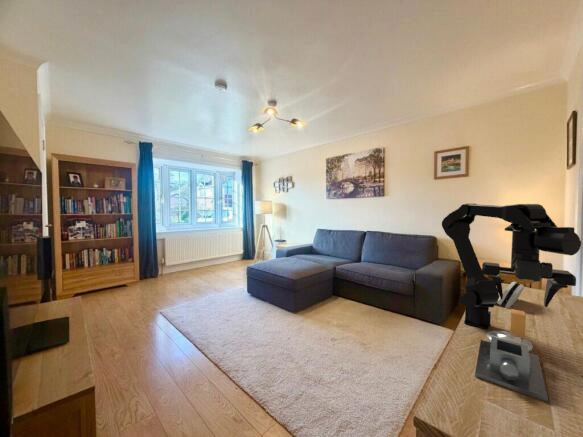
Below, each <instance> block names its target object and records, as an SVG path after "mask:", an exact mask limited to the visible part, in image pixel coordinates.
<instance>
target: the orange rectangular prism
mask: <svg viewBox="0 0 583 437" xmlns="http://www.w3.org/2000/svg"><path fill="white" fill-rule="evenodd" d="M509 322H510V324H509V326H510V327H509V332H511V333H514V334H516V335H518V336H520V337H522V338H524V339H526V312H525V311H523V310H519V309H518V310H517V309H513V308H511V309H510V320H509Z"/></svg>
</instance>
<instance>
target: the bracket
mask: <svg viewBox="0 0 583 437" xmlns="http://www.w3.org/2000/svg"><path fill="white" fill-rule="evenodd" d="M486 339H487V341H486V340H482V339H480V344H479V349H478V353H477V360H476V365H475V372H474V377H475V376H476V377H475V378H478V377H479V378H478V379H481V378H482V379H481V380H483V379H484V381H486V380H487V382H489V381H490V382H489V383H492V384H494V383H495V385H497V384H498V385H497V386H500V385H502V386H501V387H503V386H505V387H504V388H506V387H508V388H510V389H509V390H511V389H513V390H512V391H514V390H516V391H515V392H517V391H518V392H517V393H520V394H522V393H523V395H526V396H528V397H531V398H535V399H537V400H538V401H539V400H540V401H543V402H545V403H548V401H549V398H548V392H547V389H546V384H545V378H544V376H543V370H542V367H541V361H540V358H539V355H537V354H534V353H530V352H532V351H533V349H534V348H533V344H532V343H531V342H530V341H529V340H528V339H526V338H525V339H524V338H522V337H520V336H518V335H516V334H514V333H511V332H510V331H505V330H489V331H487V332H486ZM508 388H507V389H508Z"/></svg>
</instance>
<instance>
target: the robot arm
mask: <svg viewBox="0 0 583 437" xmlns="http://www.w3.org/2000/svg"><path fill="white" fill-rule="evenodd" d="M476 216H478V217H486V218H487V217H488V218H495V219H496V218H497V219H501V220H503V221H504V222H508V223H510V225H508V226H506V227H505V228H504V231H506V232H512V233H511V234H512V235H511V236H512V237H511V253H510V254H511V258H510V259H511V260H510V267H507V266H500V264H499V263H496V262H489V261H484V262H483V263H482V267H481V264H480V263H479V260H478V257H477V254H476V252H475V250H474V246H473V243H472V242H471V239H470V232H471V226H470V225H471V224H472V223H474V221H475V218H476ZM441 228H442V229H443V231H444V233H445V234H446V236H448V237H449V238H450V239H451V240H452V241H453V244H454V247H455V249H456V252H457V255H458V257H459V260H460V263H461V265H462V268H463V272H464V274H465V276H466V283H465V286H464V288H465V292H466V293H464V294H462V296H460V297H459V302H460V305H462V306H465V309H464V310H465V312H464V314H465V315H464V321H463V323H464V324H466V325H469V326H472V327H477V328H482V329H485V330H489V327H490V326H491V321H492V320H491V315H492V312H491V311H490V309H489V308H495V305H496V304H497V303H496V302H497V301H498V299H499V297H500V298H501V299H503V293H504V291H503V285H502V284H503V283H502V277H501V274H506V275H514V276H515V278H517V279H518V280H522V281H523V280H527V281H529V280H530V281H534V282H541V280H542V279H545V280H546V279H547V280H546V285H545V291H544V297H543V306H544V307H545V308H547V307H548V306H549V305H550V303H551V301H552V300H553V298H554V296H555V295H556V293H557V292H558V291H560V290H561V289H567V288H569V286H571V287H576V286H577V277H576V276H575V275H574V274H573V273H572V272H570V271H568V270H563V269H562V270H561V269H554V268H553V263H551V262H544V261H543V262H541V261H540V251H541V252H546V253H553V254H558V255H559V254H560V255H565V256H574V255H576V254H578V253H579V251H580V249H581V247H582V240H581V239H580V236H579V235H578V234H577V233H576V232H575V227H573V226H572V227H571V226H560V227H559V226H557V225H556V223H555V222H554V221H553V219H552V218H551V217H550V216H549V214H548V213H547V211H546V208H545V207H544V206H543V205H542V204H539V203H516V204H508V205H507V204H506V205H493V204H477V203H464V204H461V205H460V207H458V208H457V209H455V210H453V211H452V212H450V213H448V214H447V215H446V216H445V217H444V218H443V220H442V221H441ZM486 276H487V277H486Z"/></svg>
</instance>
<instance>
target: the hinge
mask: <svg viewBox="0 0 583 437" xmlns="http://www.w3.org/2000/svg"><path fill="white" fill-rule="evenodd" d="M524 289H525V286H524V285H523V284H519V283H518V281H511V283H510V284H508V285H507V287H506V288H505V290H504V291H503V299H501V298H500V296H499V299H498V301H497V302H496V304H498V305H499V306H504V308H506V309H510V308H511V307H512V306H513V305H514V304H515V303H516V301H517V300H519V297H520V295H521V294H522V292H523V290H524Z"/></svg>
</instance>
